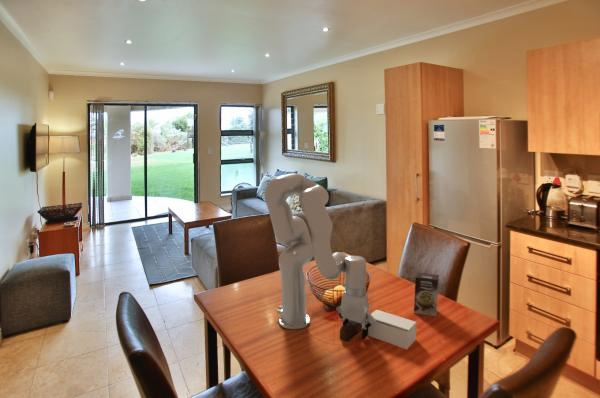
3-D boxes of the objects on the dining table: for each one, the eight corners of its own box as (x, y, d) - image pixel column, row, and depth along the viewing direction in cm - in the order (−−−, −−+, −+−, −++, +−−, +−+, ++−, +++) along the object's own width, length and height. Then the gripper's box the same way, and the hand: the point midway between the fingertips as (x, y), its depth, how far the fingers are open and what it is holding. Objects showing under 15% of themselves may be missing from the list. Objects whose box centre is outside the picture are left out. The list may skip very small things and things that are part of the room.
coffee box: (413, 313, 153) (414, 277, 150) (414, 306, 158) (416, 271, 156) (436, 317, 149) (438, 280, 146) (437, 310, 155) (438, 274, 152)
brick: (348, 342, 132) (348, 330, 132) (339, 339, 135) (339, 327, 134) (362, 330, 141) (362, 319, 140) (353, 327, 143) (353, 316, 142)
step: (366, 334, 137) (366, 316, 136) (376, 326, 143) (376, 308, 142) (406, 349, 127) (407, 330, 126) (415, 339, 133) (416, 321, 132)
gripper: (330, 287, 136) (330, 330, 139) (371, 299, 125) (371, 346, 128) (341, 280, 142) (341, 322, 145) (381, 292, 131) (380, 337, 134)
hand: (355, 333), depth 137 cm, fingers open, 7 cm apart
